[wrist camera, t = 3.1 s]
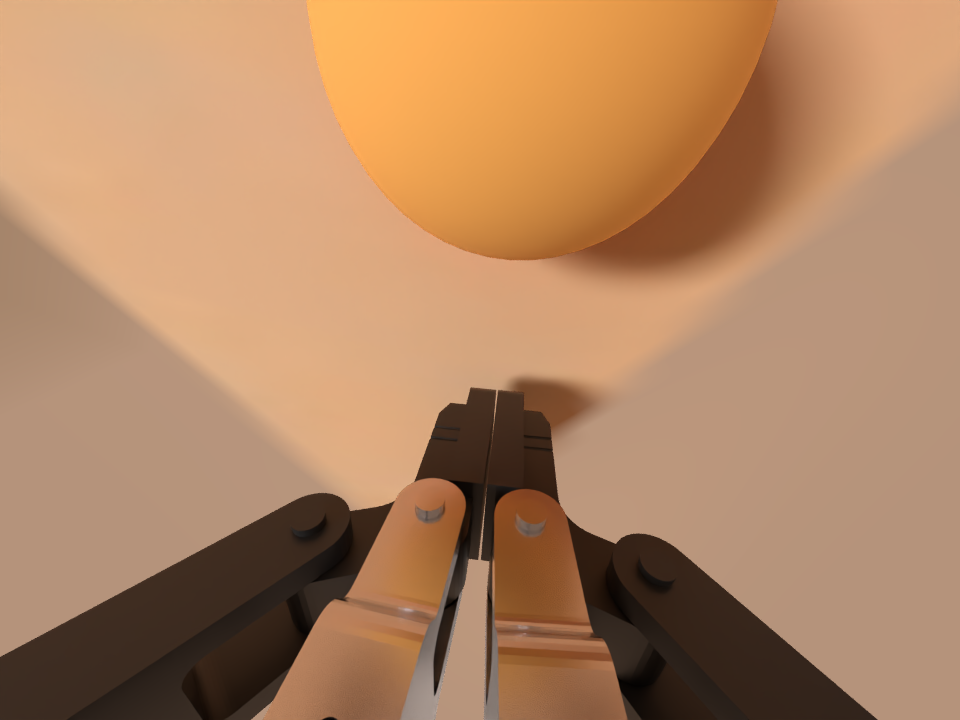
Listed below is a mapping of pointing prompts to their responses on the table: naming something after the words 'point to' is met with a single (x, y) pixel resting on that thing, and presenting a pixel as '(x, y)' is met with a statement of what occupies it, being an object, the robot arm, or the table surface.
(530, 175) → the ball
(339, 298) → the table surface
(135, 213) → the table surface
